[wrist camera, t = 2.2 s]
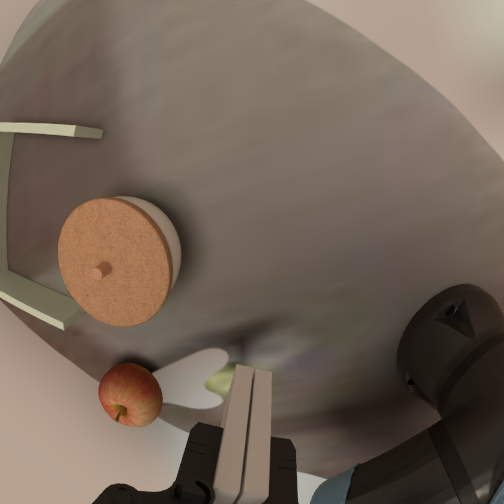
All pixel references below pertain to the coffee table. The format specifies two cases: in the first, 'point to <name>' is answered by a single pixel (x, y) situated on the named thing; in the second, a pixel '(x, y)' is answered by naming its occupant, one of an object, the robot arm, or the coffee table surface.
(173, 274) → the lidded jar
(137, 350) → the coffee table surface
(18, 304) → the bin
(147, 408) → the apple
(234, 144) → the coffee table surface
